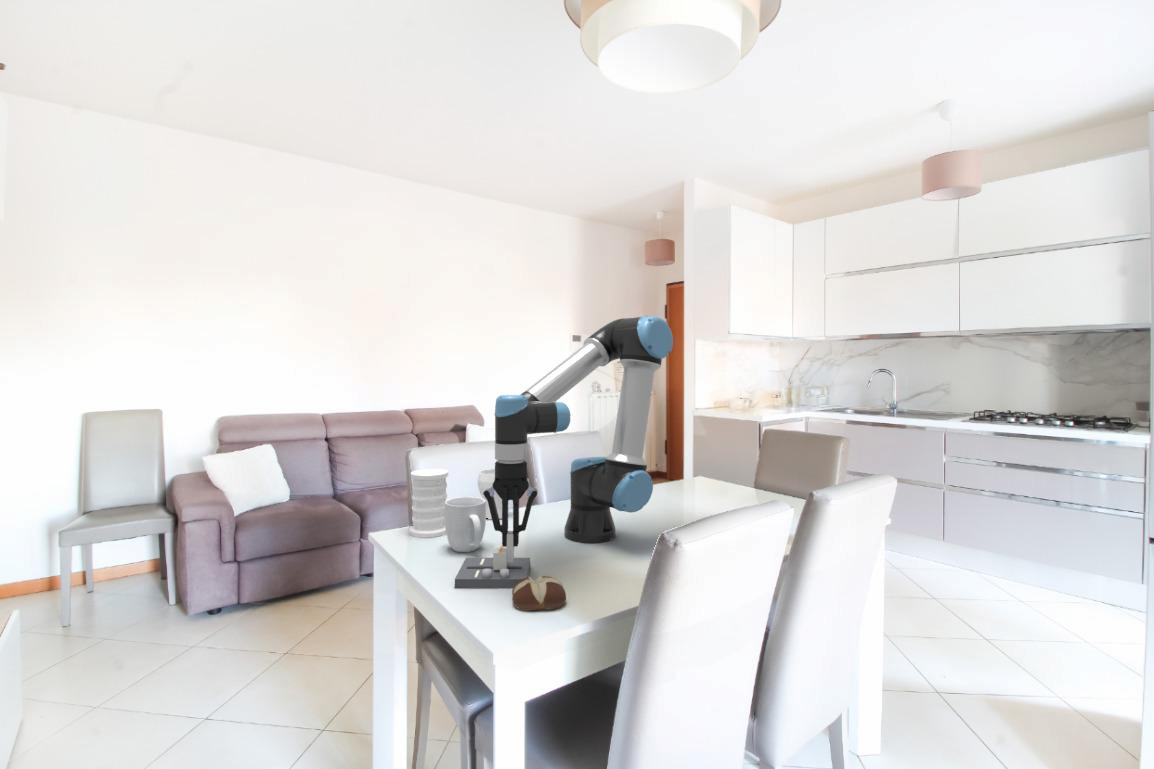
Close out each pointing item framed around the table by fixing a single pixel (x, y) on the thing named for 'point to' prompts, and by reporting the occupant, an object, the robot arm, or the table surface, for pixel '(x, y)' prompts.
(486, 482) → the cup
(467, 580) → the console
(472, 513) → the mug
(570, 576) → the table surface
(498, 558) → the fader cap
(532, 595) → the bread
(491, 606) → the table surface
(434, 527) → the decorative container
